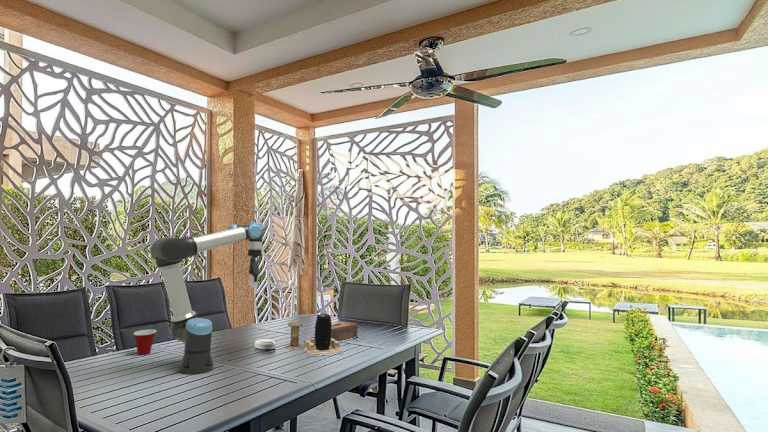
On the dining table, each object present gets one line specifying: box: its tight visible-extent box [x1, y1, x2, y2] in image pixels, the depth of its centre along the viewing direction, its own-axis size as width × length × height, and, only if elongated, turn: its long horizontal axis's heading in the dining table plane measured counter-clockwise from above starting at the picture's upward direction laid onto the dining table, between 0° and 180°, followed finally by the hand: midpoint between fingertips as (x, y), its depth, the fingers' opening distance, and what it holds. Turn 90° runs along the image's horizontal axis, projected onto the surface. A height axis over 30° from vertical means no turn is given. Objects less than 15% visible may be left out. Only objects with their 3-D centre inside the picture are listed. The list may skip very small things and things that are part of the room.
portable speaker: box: [314, 313, 332, 350], centre depth 240 cm, size 9×9×20 cm
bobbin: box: [286, 321, 304, 350], centre depth 247 cm, size 8×8×14 cm
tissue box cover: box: [331, 320, 359, 341], centre depth 272 cm, size 26×14×10 cm, turn 145°
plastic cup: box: [133, 328, 157, 356], centre depth 224 cm, size 11×11×12 cm
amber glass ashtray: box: [301, 338, 344, 355], centre depth 240 cm, size 18×19×6 cm
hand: (252, 286), depth 236 cm, fingers open, 13 cm apart
